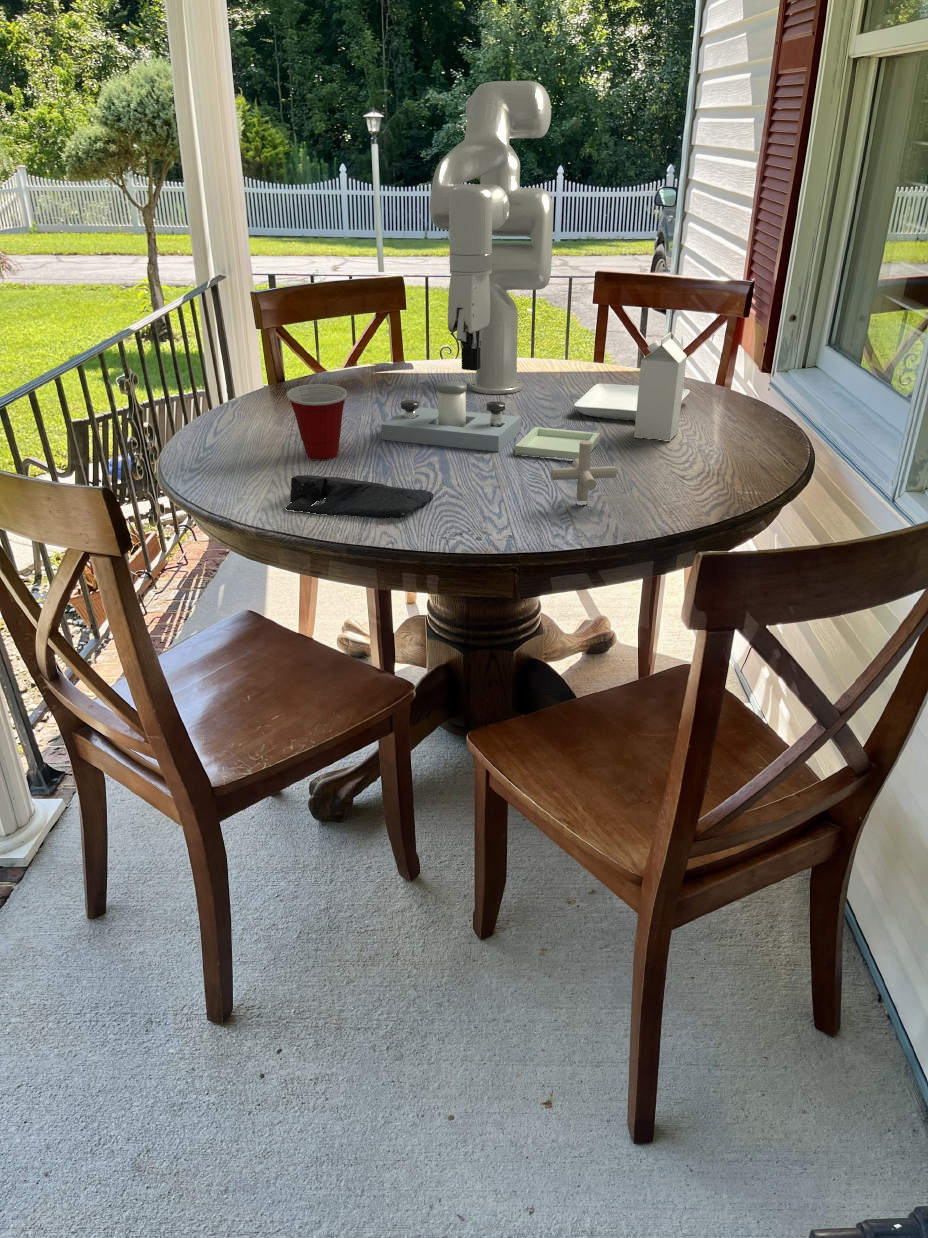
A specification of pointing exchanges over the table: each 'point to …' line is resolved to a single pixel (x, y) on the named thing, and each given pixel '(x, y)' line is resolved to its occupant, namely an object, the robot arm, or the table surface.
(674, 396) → the milk carton
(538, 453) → the tray
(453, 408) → the cartridge
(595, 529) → the table surface
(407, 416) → the plunger
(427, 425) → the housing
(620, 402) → the salad plate
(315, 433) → the plastic cup
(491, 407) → the plunger
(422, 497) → the dark slate chunk
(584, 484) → the pipe connector
